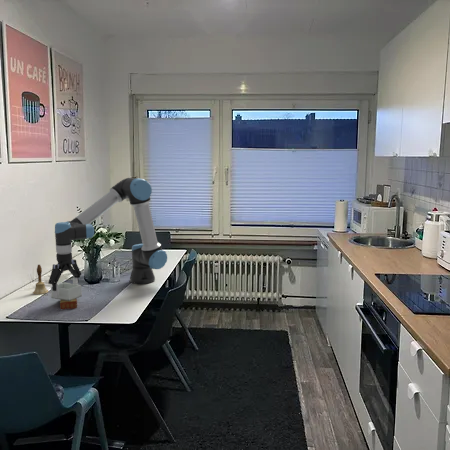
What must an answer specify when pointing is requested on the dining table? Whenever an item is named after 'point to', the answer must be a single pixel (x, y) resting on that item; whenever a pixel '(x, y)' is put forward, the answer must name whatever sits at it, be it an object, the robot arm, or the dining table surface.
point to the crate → (68, 291)
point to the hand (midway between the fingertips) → (66, 293)
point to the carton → (68, 304)
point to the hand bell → (40, 283)
